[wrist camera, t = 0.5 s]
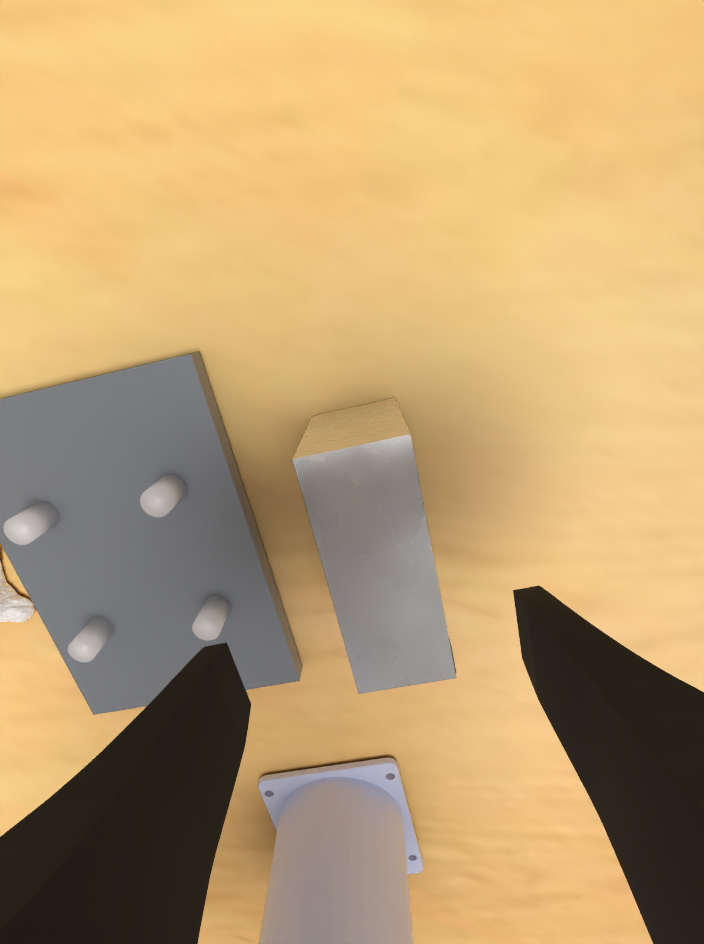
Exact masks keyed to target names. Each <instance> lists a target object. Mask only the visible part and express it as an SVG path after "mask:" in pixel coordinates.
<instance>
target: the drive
mask: <svg viewBox="0 0 704 944" xmlns="http://www.w3.org/2000/svg"><path fill="white" fill-rule="evenodd" d="M292 460H293V463H294V467H295V470H296V474H297V478H298V481H299V485H300V488H301V492H302V495H303V499H304V502H305V506H306V509H307V513H308V516H309V520H310V524H311V527H312V531H313V534H314V538H315V541H316V545H317V548H318V552H319V555H320V559H321V562H322V566H323V570H324V573H325V577H326V580H327V584H328V587H329V591H330V594H331V598H332V601H333V605H334V609H335V612H336V616H337V619H338V623H339V626H340V630H341V633H342V637H343V640H344V644H345V647H346V651H347V655H348V658H349V662H350V665H351V669H352V672H353V676H354V679H355V683H356V686H357V690H358V693H359V694H360V693H367V692H373V691H379V690H385V689H391V688H398V687H404V686H410V685H416V684H422V683H429V682H435V681H441V680H447V679H453V678H456V669H455V664H454V658H453V653H452V648H451V644H450V640H449V636H448V631H447V626H446V621H445V615H444V610H443V605H442V599H441V594H440V589H439V583H438V578H437V573H436V567H435V562H434V557H433V551H432V546H431V541H430V535H429V530H428V525H427V519H426V514H425V509H424V503H423V498H422V493H421V488H420V482H419V477H418V472H417V466H416V461H415V456H414V450H413V445H412V440H411V434H410V432H409V429H408V427H407V425H406V422H405V420H404V417H403V415H402V413H401V410H400V408H399V405H398V403H397V401H396V398H391V399H387V400H382V401H378V402H373V403H369V404H364V405H360V406H355V407H350V408H346V409H341V410H337V411H332V412H328V413H323V414H319V415H314V416H312V418H311V420H310V423H309V425H308V427H307V429H306V431H305V433H304V435H303V438H302V440H301V442H300V444H299V446H298V448H297V450H296V453H295V455H294V457H293V459H292Z"/></svg>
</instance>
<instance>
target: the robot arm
mask: <svg viewBox="0 0 704 944" xmlns="http://www.w3.org/2000/svg"><path fill="white" fill-rule="evenodd" d="M513 593H514V600H515V608H516V615H517V622H518V630H519V637H520V645H521V652H522V659H523V661H524V664H525V667H526V669H527V672H528V674H529V677H530V680H531V682H532V685H533V687H534V690H535V692H536V695H537V697H538V700H539V702H540V703H541V705H542V707H543V709H544V711H545V713H546V715H547V717H548V719H549V721H550V723H551V725H552V727H553V728H554V730H555V732H556V734H557V736H558V738H559V740H560V742H561V744H562V746H563V747H564V749H565V751H566V753H567V755H568V757H569V759H570V761H571V763H572V765H573V766H574V768H575V770H576V772H577V774H578V776H579V778H580V780H581V782H582V783H583V785H584V787H585V789H586V791H587V793H588V795H589V797H590V799H591V801H592V803H593V805H594V807H595V809H596V811H597V813H598V815H599V817H600V819H601V821H602V823H603V826H604V828H605V830H606V833H607V835H608V837H609V840H610V842H611V844H612V847H613V849H614V851H615V854H616V856H617V858H618V861H619V863H620V865H621V868H622V870H623V872H624V875H625V877H626V879H627V882H628V884H629V886H630V889H631V891H632V894H633V896H634V898H635V901H636V903H637V906H638V908H639V910H640V913H641V915H642V918H643V920H644V922H645V925H646V927H647V930H648V932H649V934H650V937H651V939H652V942H653V944H704V692H702V691H700V690H698V689H696V688H695V687H693V686H691V685H689V684H687V683H685V682H683V681H681V680H679V679H678V678H676V677H674V676H672V675H670V674H669V673H667V672H665V671H663V670H662V669H660V668H658V667H656V666H655V665H653V664H651V663H650V662H648V661H647V660H645V659H643V658H642V657H640V656H638V655H637V654H635V653H634V652H632V651H630V650H629V649H627V648H626V647H624V646H623V645H621V644H620V643H618V642H617V641H615V640H614V639H612V638H611V637H609V636H608V635H606V634H605V633H604V632H602V631H601V630H599V629H598V628H596V627H595V626H593V625H592V624H591V623H589V622H588V621H586V620H585V619H584V618H582V617H581V616H579V615H578V614H577V613H575V612H574V611H573V610H571V609H570V608H569V607H567V606H566V605H565V604H563V603H562V602H561V601H559V600H558V599H557V598H555V597H554V596H553V595H551V594H550V593H549V592H548V591H546V590H545V589H543V588H542V587H540V586H534V587H529V588H523V589H518V590H513ZM250 708H251V703H250V700H249V698H248V695H247V692H246V690H245V687H244V685H243V682H242V680H241V677H240V675H239V672H238V670H237V667H236V665H235V662H234V659H233V657H232V654H231V652H230V649H229V647H228V644H227V643H221V644H216V645H210V646H205V647H203V648H202V649H201V650H200V651H199V652H198V653H197V654H196V655H195V656H194V657H193V658H192V659H191V660H190V661H189V662H188V663H187V664H186V665H185V666H184V667H183V669H182V670H181V671H180V672H179V673H178V674H177V675H176V676H175V677H174V678H173V679H172V680H171V681H170V682H169V683H168V685H167V686H166V687H165V688H164V689H163V690H162V691H161V692H160V693H159V694H158V695H157V696H156V697H155V698H154V699H153V700H152V701H151V703H150V704H149V705H148V706H147V707H146V708H145V709H144V710H143V711H142V712H141V713H140V714H139V715H138V716H137V717H136V718H135V719H134V720H133V721H132V722H131V723H130V724H129V725H128V726H127V727H126V728H125V729H124V730H123V731H122V732H121V733H120V734H119V735H118V736H117V737H116V738H115V739H114V740H113V741H112V742H111V743H110V744H109V745H108V746H107V747H106V748H105V749H104V750H103V751H102V752H101V753H100V754H99V755H98V756H96V757H95V758H94V759H93V760H92V761H91V762H90V763H89V764H88V765H87V766H86V767H85V768H83V769H82V770H81V771H80V772H79V773H78V774H77V775H76V776H74V777H73V778H72V779H71V780H70V781H69V782H67V783H66V784H65V785H64V786H63V787H62V788H61V789H59V790H58V791H57V792H56V793H55V794H54V795H52V796H51V797H50V798H49V799H48V800H46V801H45V802H44V803H43V804H41V805H40V806H39V807H38V808H36V809H35V810H34V811H33V812H31V813H30V814H29V815H28V816H26V817H25V818H24V819H22V820H21V821H20V822H19V823H17V824H16V825H15V826H14V827H12V828H11V829H10V830H9V831H7V832H6V833H5V834H3V835H2V836H1V837H0V944H197V943H198V937H199V932H200V926H201V921H202V916H203V910H204V905H205V900H206V895H207V889H208V884H209V879H210V874H211V870H212V866H213V862H214V858H215V853H216V850H217V846H218V842H219V839H220V835H221V832H222V828H223V824H224V821H225V817H226V814H227V810H228V806H229V803H230V799H231V796H232V792H233V789H234V785H235V781H236V778H237V774H238V770H239V767H240V763H241V759H242V755H243V751H244V747H245V742H246V736H247V730H248V723H249V715H250ZM258 788H259V790H260V793H261V795H262V798H263V800H264V803H265V805H266V807H267V810H268V812H269V815H270V817H271V819H272V822H273V824H274V827H275V829H276V832H277V834H276V840H275V846H274V852H273V858H272V864H271V871H270V877H269V883H268V889H267V895H266V901H265V907H264V914H263V920H262V926H261V932H260V938H259V944H414V942H413V930H412V918H411V906H410V894H409V882H408V874H415V873H420V872H421V871H422V870H423V860H422V856H421V852H420V848H419V844H418V841H417V837H416V833H415V829H414V825H413V822H412V818H411V814H410V810H409V806H408V803H407V799H406V795H405V791H404V787H403V784H402V780H401V776H400V772H399V768H398V765H397V762H396V760H394V759H393V758H380V759H373V760H366V761H359V762H353V763H346V764H339V765H332V766H325V767H318V768H311V769H304V770H298V771H291V772H284V773H277V774H270V775H265V776H262V777H261V778H260V780H259V784H258Z"/></svg>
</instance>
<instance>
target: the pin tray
mask: <svg viewBox="0 0 704 944" xmlns="http://www.w3.org/2000/svg"><path fill="white" fill-rule="evenodd" d="M0 543H1V545H2V547H3V549H4V551H5V552H6V554H7V556H8V558H9V560H10V562H11V564H12V565H13V567H14V569H15V571H16V573H17V575H18V576H19V578H20V580H21V582H22V584H23V586H24V587H25V589H26V591H27V593H28V595H29V597H30V599H31V600H32V602H33V604H34V606H35V608H36V610H37V611H38V613H39V615H40V617H41V619H42V621H43V623H44V624H45V626H46V628H47V630H48V632H49V634H50V635H51V637H52V639H53V641H54V643H55V645H56V647H57V648H58V650H59V652H60V654H61V656H62V658H63V659H64V661H65V663H66V665H67V667H68V669H69V671H70V672H71V674H72V676H73V678H74V680H75V682H76V683H77V685H78V687H79V689H80V691H81V693H82V694H83V696H84V698H85V700H86V702H87V704H88V706H89V707H90V709H91V711H92V713H93V715H95V714H101V713H107V712H113V711H119V710H125V709H131V708H137V707H144V706H148V705H149V704H150V703H151V701H152V700H153V699H154V698H155V697H156V696H157V695H158V694H159V693H160V692H161V691H162V690H163V689H164V688H165V687H166V686H167V685H168V683H169V682H170V681H171V680H172V679H173V678H174V677H175V676H176V675H177V674H178V673H179V672H180V671H181V670H182V669H183V667H184V666H185V665H186V664H187V663H188V662H189V661H190V660H191V659H192V658H193V657H194V656H195V655H196V654H197V653H198V652H199V651H200V650H201V649H202V648H203V647H205V646H210V645H216V644H221V643H227V644H228V647H229V649H230V652H231V654H232V657H233V659H234V662H235V665H236V667H237V670H238V672H239V675H240V677H241V680H242V682H243V685H244V687H245V690H247V689H253V688H259V687H265V686H271V685H277V684H283V683H289V682H296V681H300V676H301V670H302V663H301V660H300V657H299V654H298V651H297V648H296V645H295V642H294V639H293V636H292V633H291V630H290V627H289V624H288V621H287V617H286V614H285V611H284V608H283V605H282V602H281V599H280V596H279V593H278V590H277V587H276V584H275V581H274V578H273V575H272V572H271V568H270V565H269V562H268V559H267V556H266V553H265V550H264V547H263V544H262V541H261V538H260V535H259V532H258V529H257V526H256V523H255V519H254V516H253V513H252V510H251V507H250V504H249V501H248V498H247V495H246V492H245V489H244V486H243V483H242V480H241V477H240V474H239V470H238V467H237V464H236V461H235V458H234V455H233V452H232V449H231V446H230V443H229V440H228V437H227V434H226V431H225V428H224V425H223V421H222V418H221V415H220V412H219V409H218V406H217V403H216V400H215V397H214V394H213V391H212V388H211V385H210V382H209V379H208V376H207V372H206V369H205V366H204V363H203V360H202V357H201V354H200V352H196V353H192V354H187V355H183V356H179V357H175V358H171V359H166V360H162V361H158V362H154V363H150V364H146V365H141V366H137V367H133V368H129V369H125V370H120V371H116V372H112V373H108V374H104V375H99V376H95V377H91V378H87V379H83V380H79V381H74V382H70V383H66V384H62V385H58V386H53V387H49V388H45V389H41V390H37V391H33V392H28V393H24V394H20V395H16V396H12V397H7V398H3V399H0Z"/></svg>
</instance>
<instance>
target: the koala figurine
mask: <svg viewBox="0 0 704 944" xmlns="http://www.w3.org/2000/svg"><path fill="white" fill-rule="evenodd" d="M0 550H1V549H0ZM34 612H35V608H34V605H33V603H32V602H31V601H30V600H29V599H27V598H25V597H22V596H20V595H18V594H17V593H16V591H15V590H14V589H13V588H12V587H11V586H10V585H9V584H8V583H7V581H6V578H5V575H4V572H3V570H2V565H1V562H0V622H10V621H12V622H24V621H27V620H28V619H29V618H30V617H31V616H32V615H33V614H34Z"/></svg>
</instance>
